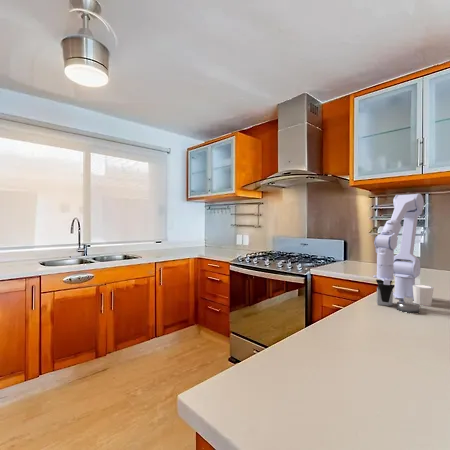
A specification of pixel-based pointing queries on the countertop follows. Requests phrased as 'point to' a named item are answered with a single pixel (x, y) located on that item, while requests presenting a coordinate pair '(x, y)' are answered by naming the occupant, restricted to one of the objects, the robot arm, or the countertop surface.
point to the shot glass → (423, 294)
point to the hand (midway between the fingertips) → (384, 299)
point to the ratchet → (408, 305)
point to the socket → (379, 299)
